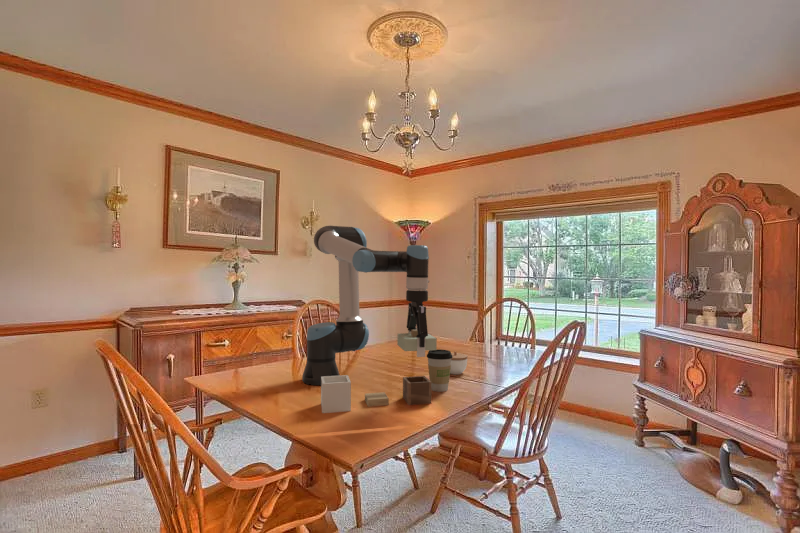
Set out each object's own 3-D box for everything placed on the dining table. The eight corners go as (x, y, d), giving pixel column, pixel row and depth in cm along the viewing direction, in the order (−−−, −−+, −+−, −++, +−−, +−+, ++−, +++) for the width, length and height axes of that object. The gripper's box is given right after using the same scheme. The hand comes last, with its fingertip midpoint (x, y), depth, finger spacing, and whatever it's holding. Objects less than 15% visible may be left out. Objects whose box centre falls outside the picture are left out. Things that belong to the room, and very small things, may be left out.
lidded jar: (469, 375, 179) (469, 354, 179) (444, 375, 179) (444, 354, 179) (465, 369, 190) (465, 349, 190) (442, 369, 190) (442, 349, 190)
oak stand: (364, 402, 143) (364, 393, 143) (384, 400, 145) (384, 392, 145) (367, 408, 136) (367, 399, 136) (388, 407, 138) (388, 398, 138)
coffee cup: (451, 395, 151) (451, 354, 151) (424, 394, 153) (424, 353, 153) (453, 388, 160) (453, 349, 160) (428, 386, 162) (428, 348, 162)
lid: (397, 344, 147) (397, 328, 147) (426, 343, 150) (427, 327, 150) (404, 351, 137) (405, 333, 137) (436, 350, 139) (436, 332, 139)
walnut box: (402, 399, 146) (402, 377, 146) (424, 398, 148) (424, 375, 148) (408, 407, 138) (408, 383, 138) (431, 405, 140) (431, 381, 140)
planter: (320, 406, 139) (321, 376, 139) (347, 404, 141) (347, 375, 141) (322, 415, 130) (322, 383, 130) (350, 413, 132) (350, 382, 132)
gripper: (438, 292, 133) (437, 360, 133) (418, 287, 155) (417, 345, 156) (415, 292, 131) (414, 361, 131) (398, 287, 154) (398, 346, 154)
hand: (416, 352), depth 143 cm, fingers closed on lid, 11 cm apart
